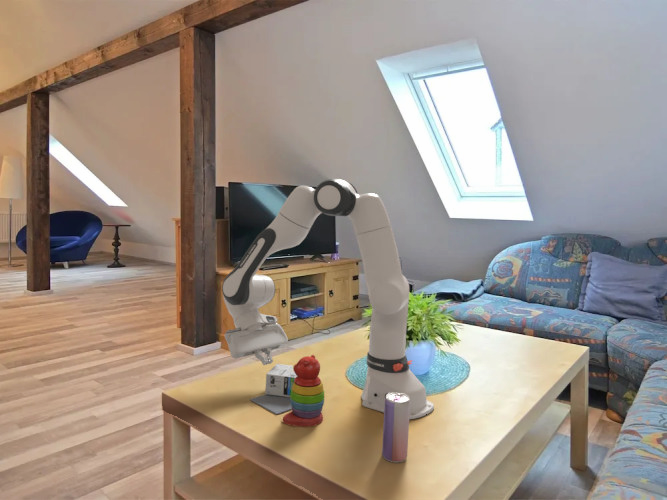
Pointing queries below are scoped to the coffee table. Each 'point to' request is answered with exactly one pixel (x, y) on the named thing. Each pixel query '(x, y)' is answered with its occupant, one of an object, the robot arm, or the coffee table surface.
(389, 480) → the coffee table surface
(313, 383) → the stacking bear
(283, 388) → the light bulb box
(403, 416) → the beverage can
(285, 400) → the mat
